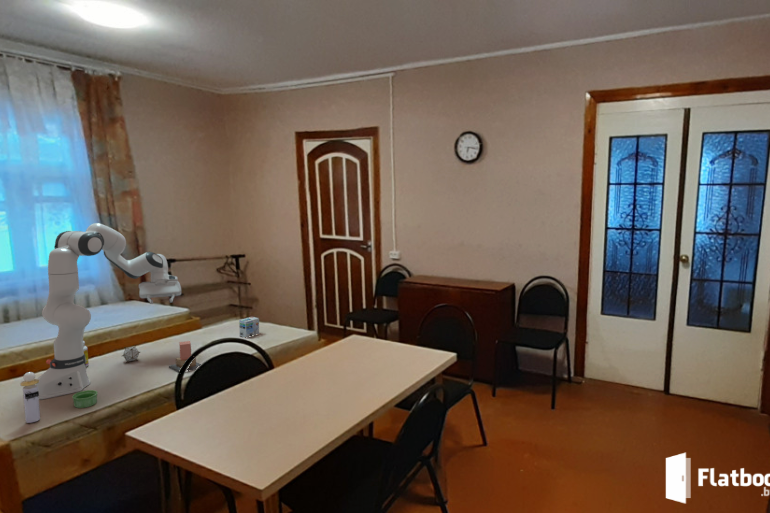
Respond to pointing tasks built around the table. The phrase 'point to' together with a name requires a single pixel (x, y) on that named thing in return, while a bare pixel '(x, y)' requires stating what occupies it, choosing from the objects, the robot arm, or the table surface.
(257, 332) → the light bulb box
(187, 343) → the red block
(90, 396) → the ramekin
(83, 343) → the supplement bottle
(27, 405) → the perfume bottle
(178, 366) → the tower base
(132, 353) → the game die
